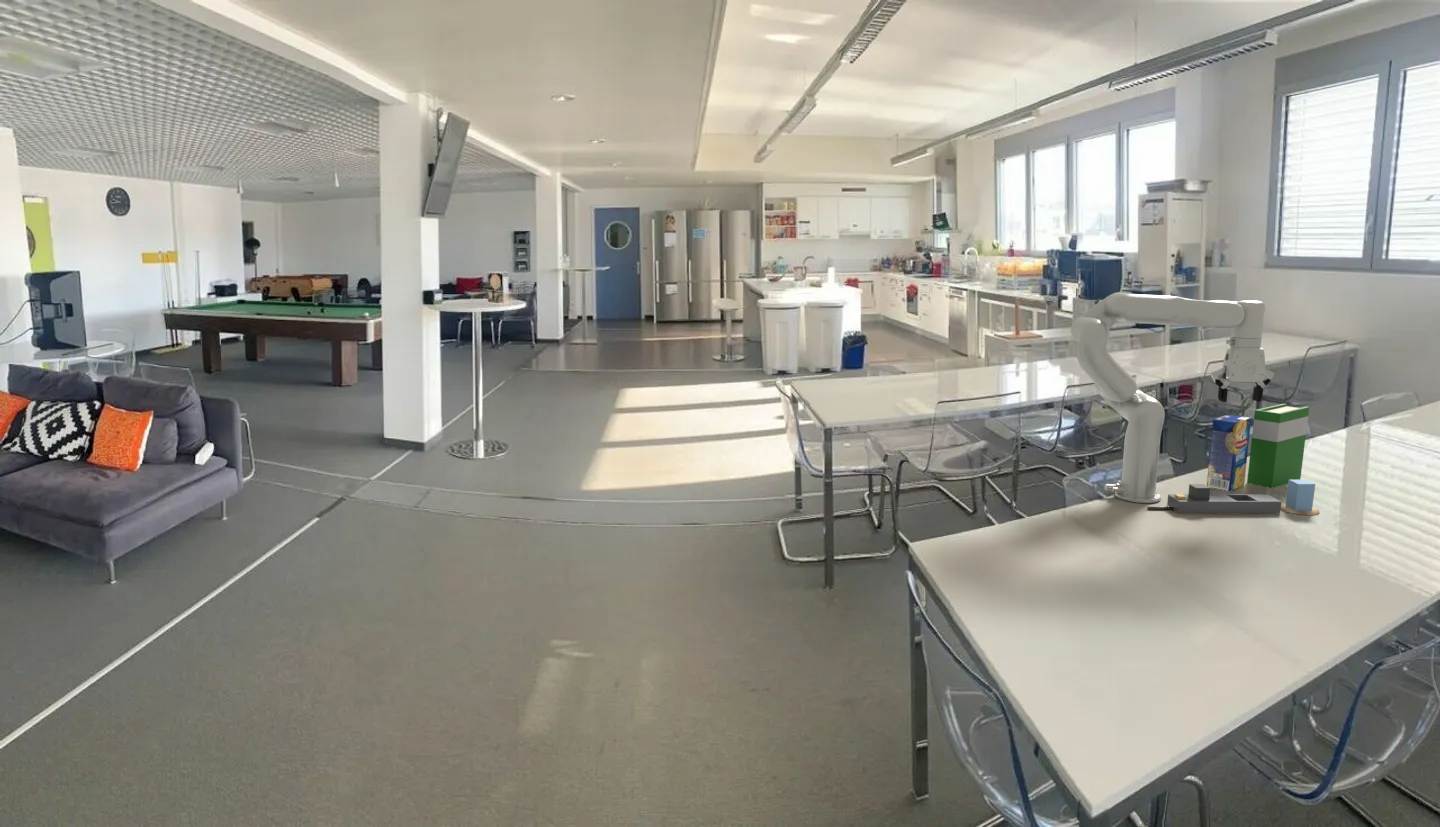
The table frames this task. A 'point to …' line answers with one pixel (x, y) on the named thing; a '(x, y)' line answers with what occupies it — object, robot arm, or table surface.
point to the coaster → (1286, 509)
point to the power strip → (1220, 502)
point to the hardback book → (1277, 445)
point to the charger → (1300, 495)
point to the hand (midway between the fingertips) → (1239, 401)
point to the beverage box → (1228, 452)
